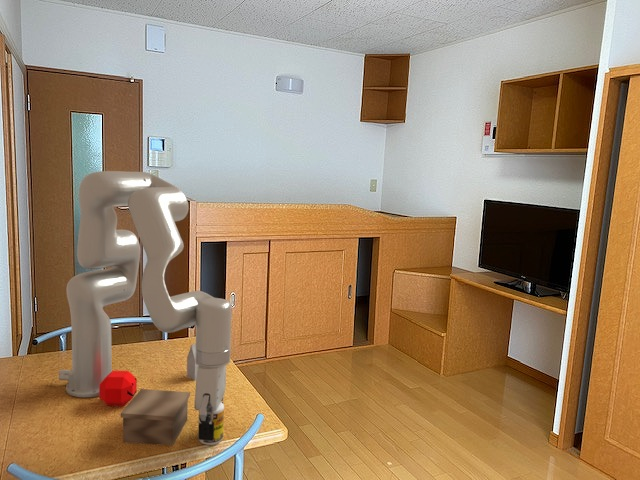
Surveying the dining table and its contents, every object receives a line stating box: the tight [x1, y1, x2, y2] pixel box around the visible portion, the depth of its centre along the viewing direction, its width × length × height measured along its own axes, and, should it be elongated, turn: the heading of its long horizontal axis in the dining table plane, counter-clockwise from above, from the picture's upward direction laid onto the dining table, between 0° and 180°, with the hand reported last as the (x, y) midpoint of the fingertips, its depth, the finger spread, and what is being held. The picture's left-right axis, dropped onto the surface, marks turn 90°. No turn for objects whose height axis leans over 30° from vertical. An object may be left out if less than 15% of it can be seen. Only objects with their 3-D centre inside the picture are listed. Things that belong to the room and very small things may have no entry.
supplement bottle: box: [197, 401, 225, 446], centre depth 113 cm, size 6×6×10 cm
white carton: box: [186, 343, 198, 381], centre depth 145 cm, size 4×7×10 cm, turn 141°
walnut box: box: [120, 388, 191, 446], centre depth 115 cm, size 12×12×7 cm
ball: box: [98, 370, 138, 407], centre depth 127 cm, size 8×8×8 cm
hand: (211, 428), depth 113 cm, fingers open, 8 cm apart
